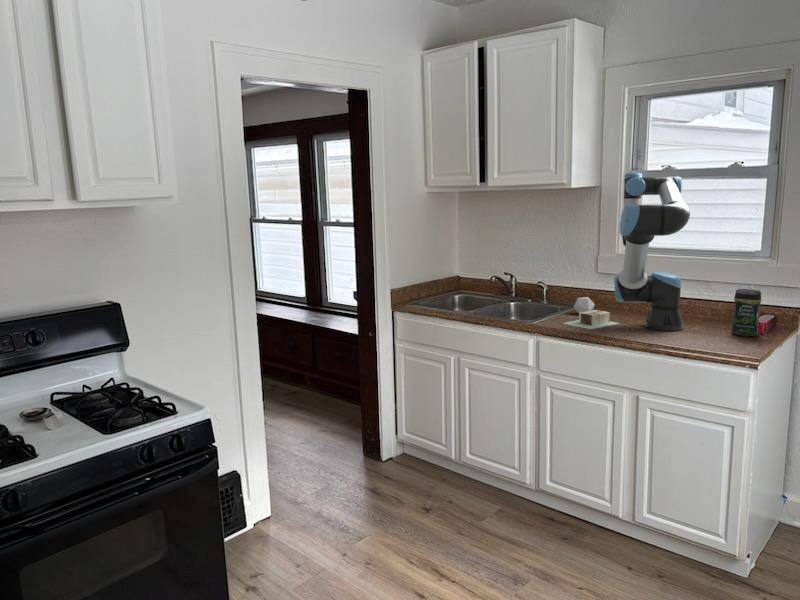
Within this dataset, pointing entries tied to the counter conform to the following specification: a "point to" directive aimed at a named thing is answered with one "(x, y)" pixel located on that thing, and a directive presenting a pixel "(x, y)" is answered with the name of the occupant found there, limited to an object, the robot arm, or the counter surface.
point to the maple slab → (594, 317)
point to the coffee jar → (746, 312)
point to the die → (583, 305)
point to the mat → (576, 323)
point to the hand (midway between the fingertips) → (630, 260)
